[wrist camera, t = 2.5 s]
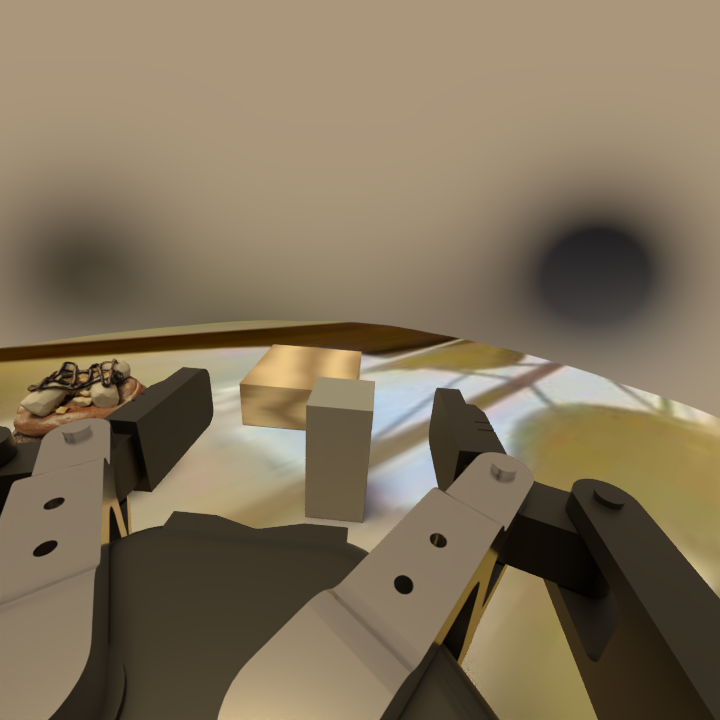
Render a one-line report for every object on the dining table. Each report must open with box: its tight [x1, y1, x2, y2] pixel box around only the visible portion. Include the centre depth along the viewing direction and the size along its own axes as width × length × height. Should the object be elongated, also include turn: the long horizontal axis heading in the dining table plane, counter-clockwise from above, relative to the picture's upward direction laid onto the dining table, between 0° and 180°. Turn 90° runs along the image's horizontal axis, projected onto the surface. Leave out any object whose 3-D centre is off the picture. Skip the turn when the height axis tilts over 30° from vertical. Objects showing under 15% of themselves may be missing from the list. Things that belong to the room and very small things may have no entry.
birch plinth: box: [240, 345, 361, 430], centre depth 42 cm, size 12×12×5 cm
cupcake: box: [12, 359, 147, 443], centre depth 28 cm, size 10×10×10 cm
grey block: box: [305, 377, 375, 523], centre depth 27 cm, size 4×4×10 cm
